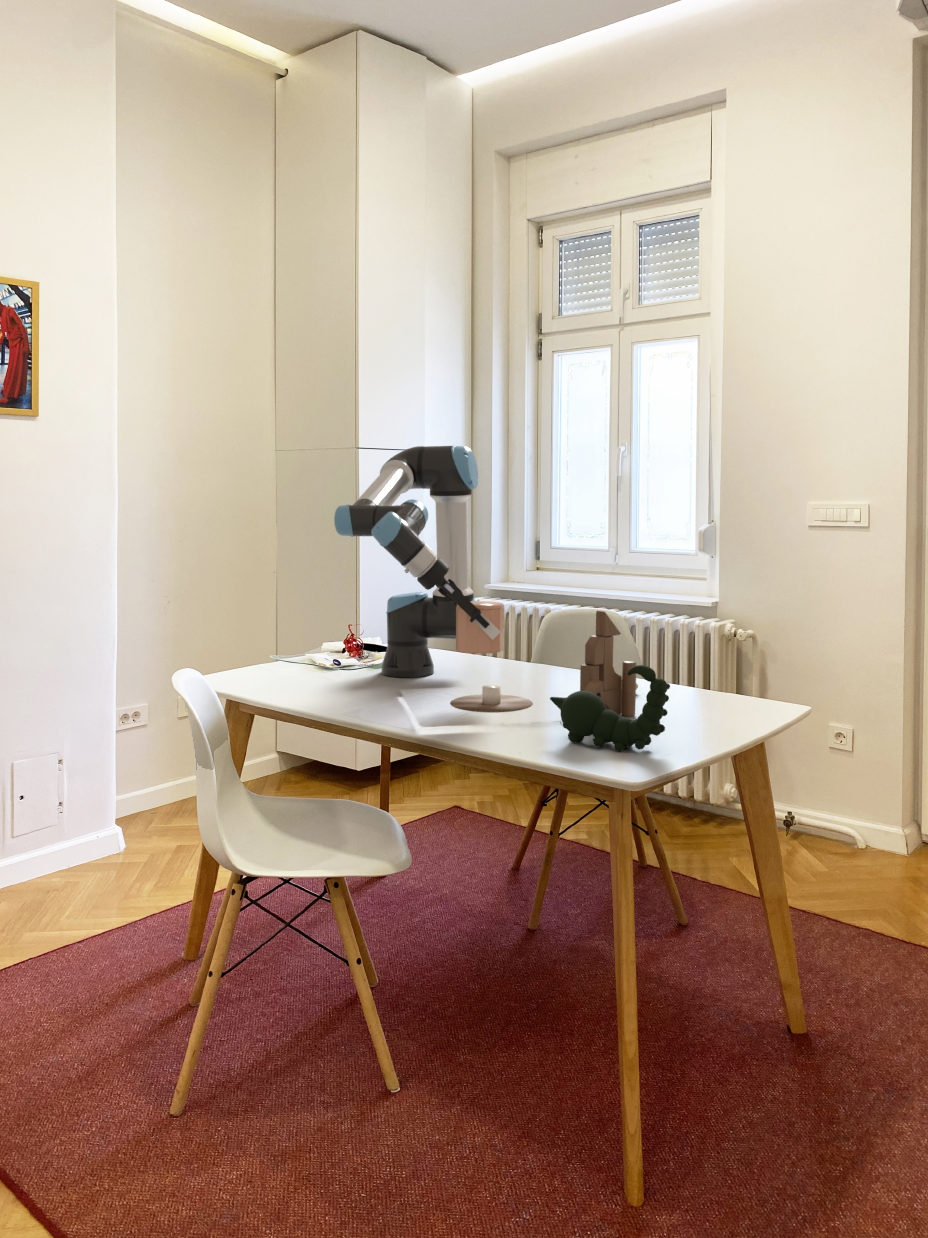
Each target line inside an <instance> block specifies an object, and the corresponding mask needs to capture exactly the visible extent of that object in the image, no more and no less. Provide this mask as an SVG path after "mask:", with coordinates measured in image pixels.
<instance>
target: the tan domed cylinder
mask: <svg viewBox="0 0 928 1238" xmlns="http://www.w3.org/2000/svg"><path fill="white" fill-rule="evenodd" d="M470 602H471V603H472V604H473V605H474V606H475V607H476V608H477V609H479V610H480V611H481V612H482V613H483V614H484V615H485V616H486V617H487V618H488V619H489V620H490V621H491V622H492V623H493V624H494V625H495V626H496V627H497V628H498V629H499V630H500V631H501V632H500V633H499V634H498V635H497V636H496V637H495V638H494V639H493V640H492V639H491V638H490V637H489V636H488V635H487V634H486V633H485V632H484V631H483V630H482V629H481V628H480V627H479V626H478V625H477V624H476V623H475V622H474V621H473V622H472V623H471V622H470V619H471V617H470V616H469V615H468V614H467V613H466V612H465V611H464V610H463V609H462V608H460V607H459V606H458V605H457V607H456V639H455V649H456V651H458V652H461V653H465V654H477V655H479V654H494V653H495V654H496V653H501V652H502V651H504V645H505V644H504V641H505V639H504V638H505V636H504V633H505V631H504V629H505V607H504V603H502V602H499V601H498V602H497V601H488V600H487V601H486V600H484V601H483V600H479V601H470ZM474 611H475V610H474ZM474 611H473V612H474ZM473 612H472V613H473ZM472 613H471V614H472Z"/></svg>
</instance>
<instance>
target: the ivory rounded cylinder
mask: <svg viewBox="0 0 928 1238" xmlns="http://www.w3.org/2000/svg"><path fill="white" fill-rule="evenodd" d="M481 687H482V688H481V689H482V691H481V692H482V693H481V694H482V703H483V704H486V705H497V704H500V703H501V695H502V694H501V688H502V686H501V685H497V684H483V685H482V686H481Z"/></svg>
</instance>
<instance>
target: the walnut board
mask: <svg viewBox="0 0 928 1238" xmlns="http://www.w3.org/2000/svg"><path fill="white" fill-rule="evenodd" d="M449 702H450V703H449V704H450V706H452V707H453V708H455V709H458V710H462V711H468V712H476V713H509V712H511V713H512V712H517V711H522V710H526V709H529V708H530V707H532V706H533V705H534V702H533V701H532V700H530V699H529V698H525V697H523V696H522V697H521V696H517V695H511V694H501V703H500V704H497V705H486V704H483V703H482V693H481V694H473V695H472V694H469V695H465V696H464V695H463V696H460V697H456V698H454V699H452V700H450V701H449Z"/></svg>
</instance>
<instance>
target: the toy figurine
mask: <svg viewBox="0 0 928 1238" xmlns="http://www.w3.org/2000/svg"><path fill="white" fill-rule="evenodd" d="M632 674H636V675H638V676H639V675H640V676H641V677H642V678H643V679H644V680H645V681H647V682H648V683H649V682H650V683H649V684H650V685H649V691H648V693H647V694H646V696H645V697H646V702H645V703H644V704H643V707H642V710H641V711H642V713H640V714H639V715H638V717H637V718H635V719H632V718H630V717H626V716H622V717H621V715H620V714H619V715H618V714H617V713H616V712H614V711H612V710H609V709H606V707H605V704H604V702H603V701H602V700H601V698H600V697H599V696H597V695H596V694H594V693H592V692H589V691H580V690H578V691H575V692H572V693H570V694H568V696H566V697H559V696H550V697H549V700H550V701H551V702H552V703H553V704H554V705H555V706H556V707H557V708H558V709H559V710H560V718H561V723H562V727H563V728H564V729H566V730H567V731H568V734H567V739H568V740H569V741H570V742H571V743H573V744H580V743H582V742H583V740H584V739H585V737H591V736H593V739H592V743H593V745H594V746H596V747H597V748H602V747H604V746H605V744H607V743H612V744H613V745H614V746H613V748H614V749H615V751H616V752H618V753H621V752H624V749H625V748H629V747H632V746H633V745H634V748H636V749H637V750H643V749H644V748H645V747H646V746H648V745H651V743H652V738H651V735H653V736H656V737H657V736H659V735H661V734H663V733H664V732H665V731H666V727H665V725H664V724H661V720H662V718H663V717H666V716H667V715H668V710H667V708H664V705H665V704H666V703H668V701H670V700H669V699H670V698H669V695H667V694H666V693H667V691H668V690H670V688H671V684H670V683H667V681H666V680H665V679H663V678H661V677H659V678H658V677H657V674H656V672H655V670H654V669H653V668H652V667H649V666H647V665H644V664H640V665H639V664H636V666H634V667H632V668H631V669H630V670H629V671H628V675H629V676H630V675H632ZM596 747H595V748H596Z"/></svg>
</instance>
